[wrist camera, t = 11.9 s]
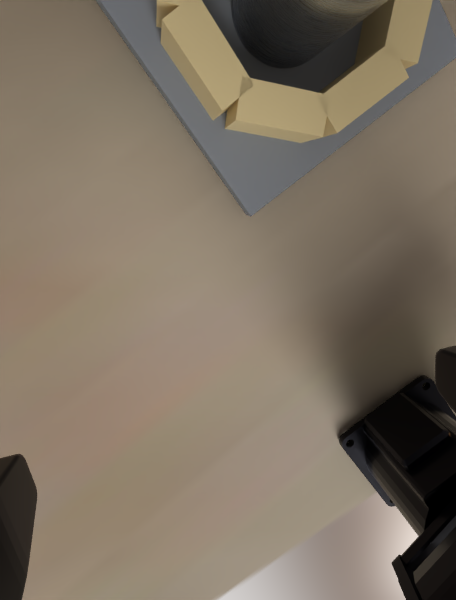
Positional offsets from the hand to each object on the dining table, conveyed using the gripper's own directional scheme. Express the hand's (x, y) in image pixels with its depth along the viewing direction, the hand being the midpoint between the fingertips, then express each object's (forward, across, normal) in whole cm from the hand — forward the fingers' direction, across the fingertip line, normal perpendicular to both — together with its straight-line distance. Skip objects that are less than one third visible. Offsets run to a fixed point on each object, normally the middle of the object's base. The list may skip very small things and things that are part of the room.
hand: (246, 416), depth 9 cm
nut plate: (+12, -6, -10) cm, 17 cm away
